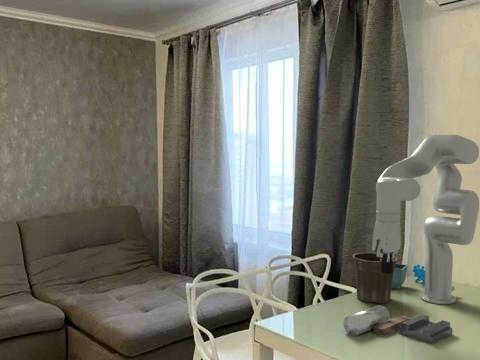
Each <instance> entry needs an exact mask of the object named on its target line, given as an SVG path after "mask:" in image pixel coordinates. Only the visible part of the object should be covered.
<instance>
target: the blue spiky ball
mask: <svg viewBox="0 0 480 360" xmlns="http://www.w3.org/2000/svg"><path fill="white" fill-rule="evenodd" d="M412 268H413V269H412V272H413V277H417V278H416V279H415V280H414V282H415V283H418V282H420V281H421V282H420V283H421V285H423V286H425V265H420V264H416V265H413V266H412Z"/></svg>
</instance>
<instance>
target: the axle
mask: <svg viewBox="0 0 480 360" xmlns="http://www.w3.org/2000/svg"><path fill="white" fill-rule="evenodd" d="M390 316H391V315H390V312H389V311H388V309H387V308H386V307H385V306H383V305H382V304H381V305H375V306H373V307H370V308H367V309H365V310H362V311H359V312H356V313H354V314H351V315H348V316H345V318H344V319H343V329H344V331H345V332H346V333H347V335H349V336H353V337H356V336H359V335H361V334H363V333H365V332H368V331H371V330H374V327H375V326H377V325H380V324H382V323H385V322H387V321H390Z"/></svg>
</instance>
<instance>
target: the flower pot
mask: <svg viewBox="0 0 480 360" xmlns="http://www.w3.org/2000/svg"><path fill="white" fill-rule="evenodd" d="M408 266H409V265H408V264H401V263H396V264H395V270H394V273H393V280H392V288H391V289H397V290H398V289H400V288H401V287H402V286H403V285H404V282H405V280H406V278H407V272H408Z"/></svg>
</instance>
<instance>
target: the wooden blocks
mask: <svg viewBox="0 0 480 360" xmlns="http://www.w3.org/2000/svg"><path fill="white" fill-rule="evenodd" d="M409 319H412V318H411V317H408V316H405V315H400V316H398V317H395V318H393V319H389V321H387V322H385V323H382V324H380V325H377V326H375V327H374V329H373V334H375V335H378V336H382V337H383V336H385V335H388V334H390V333H393V332H396V331H397V330H398V331H399V327H400V326H401V323H402V322H405V321H407V320H409Z"/></svg>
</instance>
